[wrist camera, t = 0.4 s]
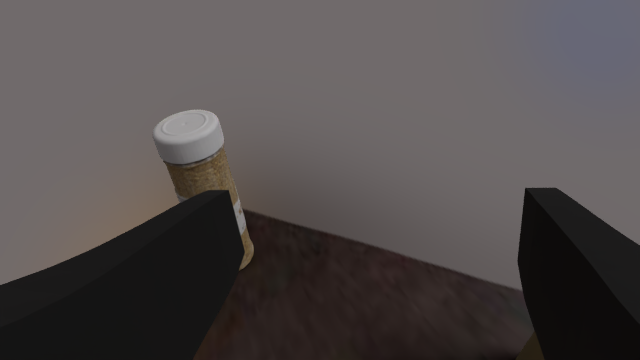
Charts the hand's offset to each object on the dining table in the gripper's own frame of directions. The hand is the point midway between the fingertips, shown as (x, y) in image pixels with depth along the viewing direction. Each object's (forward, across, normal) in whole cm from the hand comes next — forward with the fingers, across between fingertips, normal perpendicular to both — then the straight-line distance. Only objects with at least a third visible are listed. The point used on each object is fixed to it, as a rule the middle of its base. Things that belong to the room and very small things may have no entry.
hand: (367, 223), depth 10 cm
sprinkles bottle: (+18, +16, +16) cm, 29 cm away
